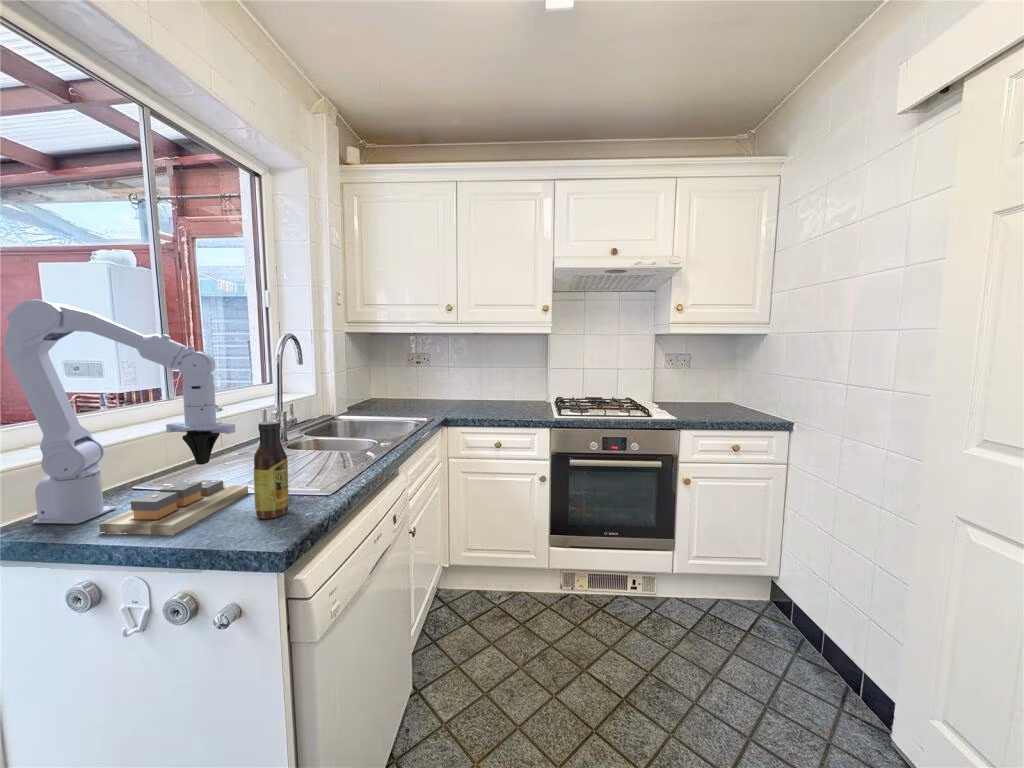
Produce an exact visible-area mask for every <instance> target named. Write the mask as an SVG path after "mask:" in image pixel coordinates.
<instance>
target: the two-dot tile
mask: <svg viewBox="0 0 1024 768" xmlns="http://www.w3.org/2000/svg"><path fill="white" fill-rule="evenodd" d="M201 490H202V482H199V481H177V482H174V483H173V484H170V485H168V486H164V487H163V488H160V489H159V492H174V493H177V495H178V501H177V502H176V506H179V507H187V506H186V505H188V504H190V503H192V502H194V501H196V500H198V499H200V498H201Z"/></svg>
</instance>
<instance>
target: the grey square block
mask: <svg viewBox="0 0 1024 768" xmlns="http://www.w3.org/2000/svg"><path fill="white" fill-rule="evenodd" d="M177 501H178V495H177V493H174V492H160V491H153V492H151V493H147V494H145V495H143V496H140V497H137V498H136V499H135V498H134V499H133V500H131V501H130V510H133V512H134V519H152V520H160V519H162V518H161V517H163V516H165V515H167V514H169V513H171V512H173V511H175V510H177V508H178V507H177V506H176V502H177Z"/></svg>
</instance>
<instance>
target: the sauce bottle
mask: <svg viewBox="0 0 1024 768" xmlns="http://www.w3.org/2000/svg"><path fill="white" fill-rule="evenodd" d="M258 431H259V440H258V441H259V442H260V446H259V448H258V447H257V449H256V451H255V452H254V456H253V463H254V464H253V466H254V467H253V487H254V509H255V515H256V517H257V519H261V520H266V519H267V520H270V519H275V518H279V517H282V516H283V515H286V514H287V512H288V511H289V505H290V502H289V501H290V500H289V499H290V498H289V497H290V496H289V469H288V468H289V467H288V466H289V465H288V456H287V454H286V451H285V449H284V447H283V445H282V443H281V422H280V421H274V420H272V421H264V422H263V421H262V422H259V423H258Z"/></svg>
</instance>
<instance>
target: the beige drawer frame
mask: <svg viewBox="0 0 1024 768" xmlns="http://www.w3.org/2000/svg"><path fill="white" fill-rule="evenodd" d="M248 494H249V487H248V485H241V484H238V485H235V484H223V488H222V490H220V491H218V492H216V493H214V494H212V495H210V496H201V498H200V499H198V500H196V501H194V502H192V503H190V504H188V505H186V506H185V507H180V506H177V510H175V511H173V512H171V513H169V514H167V515H165V516H163V517H161V518H160V519H158V520H153V519H134V512H133V510H131V509H130V510H128V511H126V512H123V513H121V514H118V515H115V516H114V517H112V518H109V519H107V520H104V521H102V522H100V523H98V528H99V529H98V530H99V533H100V532H105V533H127V534H126V535H132V534H153V535H152V536H174V535H175V533H176V534H177V533H179V532H181V531H182V530H184V529H187V528H189V527H190V526H192V525H194V524H195V523H198V522H199V521H201V520H203V519H205V518H206V517H208V516H210V515H212V514H214V513H216V512H217V511H219V510H221V509H222V508H224V507H227V506H228V505H230V504H232V503H234V502H235V501H237V500H239V499H241V498H243V497H244V496H247V495H248ZM154 534H156V535H154ZM173 534H174V535H173Z"/></svg>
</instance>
